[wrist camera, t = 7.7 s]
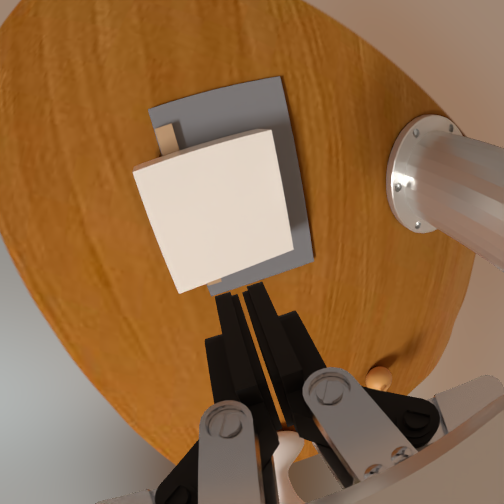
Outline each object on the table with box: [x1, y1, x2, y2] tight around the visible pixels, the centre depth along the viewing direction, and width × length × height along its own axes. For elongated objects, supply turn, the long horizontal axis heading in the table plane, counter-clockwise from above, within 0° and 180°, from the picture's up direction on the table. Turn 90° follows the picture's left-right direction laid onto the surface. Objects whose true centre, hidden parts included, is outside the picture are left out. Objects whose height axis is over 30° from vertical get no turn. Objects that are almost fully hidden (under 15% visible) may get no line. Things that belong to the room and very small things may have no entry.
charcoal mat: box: [148, 76, 314, 296], centre depth 22 cm, size 10×16×1 cm, turn 13°
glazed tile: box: [133, 129, 294, 294], centre depth 20 cm, size 3×9×9 cm
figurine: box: [366, 367, 392, 392], centre depth 34 cm, size 8×6×12 cm
